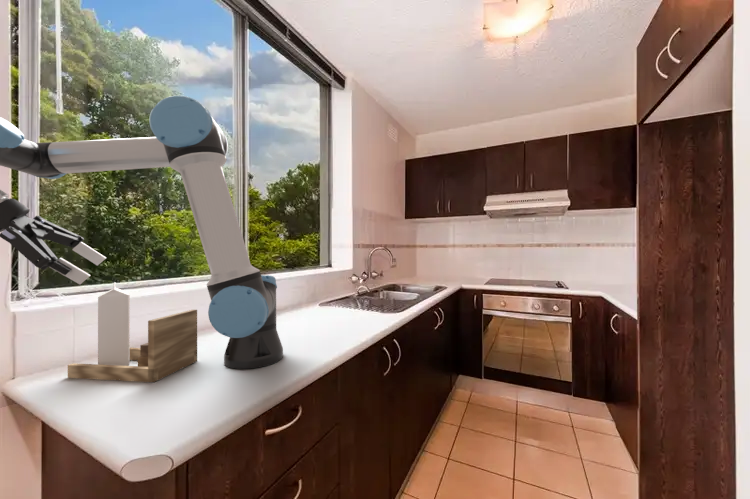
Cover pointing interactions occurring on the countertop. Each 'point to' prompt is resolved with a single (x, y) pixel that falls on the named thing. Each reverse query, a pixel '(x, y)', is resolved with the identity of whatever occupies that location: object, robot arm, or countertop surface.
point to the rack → (152, 352)
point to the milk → (114, 327)
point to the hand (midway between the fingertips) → (94, 270)
